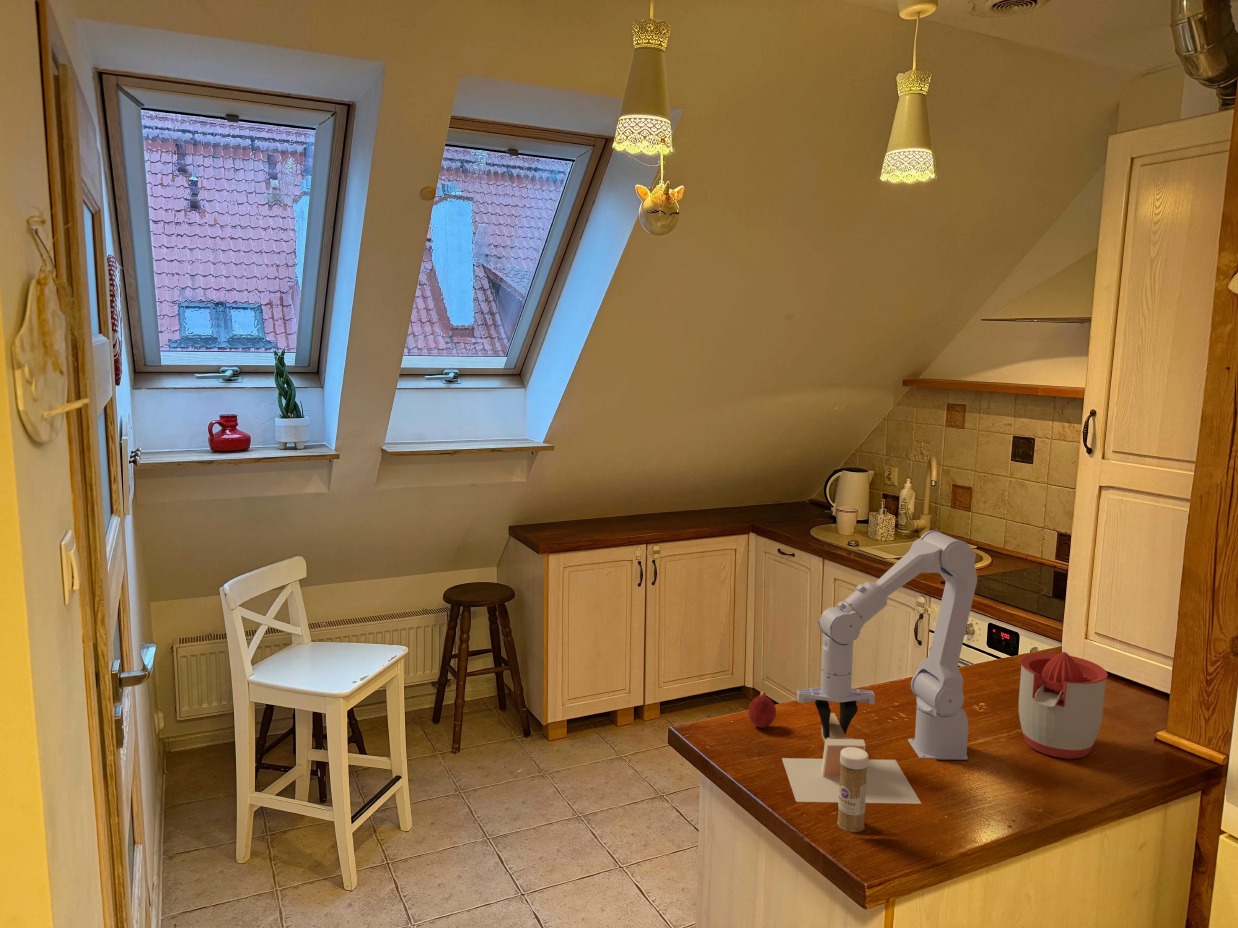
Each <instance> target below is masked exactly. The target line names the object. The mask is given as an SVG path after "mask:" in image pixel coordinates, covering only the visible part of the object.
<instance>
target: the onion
mask: <svg viewBox="0 0 1238 928" xmlns="http://www.w3.org/2000/svg"><path fill="white" fill-rule="evenodd" d="M776 710H777V709H776V706H775V703H774V702H773V700H772V699H770V698H769V697H768V696H767V695H766V692H765V691H760V693H759V695H758V696H756V697H754V698H753V699H752V700H751V702H750V703H749V706H748V711H747V713H748V717H749V719H750V721H751V722H752V723H753V725H755V727H758V728H760V729H764V728H766V727H768V726H770V725H771V724H772V723H773V722H774V721H775V720H776V717H777V711H776Z"/></svg>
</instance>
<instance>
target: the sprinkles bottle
mask: <svg viewBox="0 0 1238 928" xmlns="http://www.w3.org/2000/svg"><path fill="white" fill-rule="evenodd" d="M868 759H869V754H868V752H867V751H866V750H865V751H864V750H862V749H859V748H855V747H847V748H844V749H842V750H841V753H840V763H841V772H840V789H839V801H838V803H837V804H838V805H837V806H838V813H837V822H836V823H837V826H838V827H839V828H840V829H842V830H844V831H846V832H850V833H857V832H861V831H863V830H864V829H865V826H866V825H865V812H866V803H865V801H866V774H867V767H868Z"/></svg>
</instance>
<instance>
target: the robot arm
mask: <svg viewBox="0 0 1238 928" xmlns="http://www.w3.org/2000/svg"><path fill="white" fill-rule="evenodd" d="M976 556H977V553H976V552H975V551H974V550H973V548H972V547H971V546H970V545H969V544H968V543H967V542H966V541H964V540H960V539H956V538H954V537H952V536H949V535H947V534H944V533H943V532H941V531H939V530H933V529H932V530H929V531H926V532H924V534H922V535H921V537H920V538H917V539H915V541H913V543H912V544H911V545H910V548H909V550H908V552H906V553H905V554H904V555H903V556H901V558H900V559H899V560H898V561H897V562H896V563H894V565H892V566H891V567H890V568H889V569H888V570H886V572H885V573H884V574H883V575H882V576H880V578H878V579H877V580H876V581H875V582H868V581H867V582H866V581H865V582H864V583H863V584H861V583H860V584H858V585H857V586H856V587H855V591H853V592H852V593H850V595H849V596H847V597H846V598H845V599H844V600H843V601H841V600H840V601H839V602H838V603H837V605H836V606H833V607H832V606H830V607H828V608H827V609H825V610H824V611H823V612H822V613H821V615H820V618H819V619H818V620H817V627H818V628H819V630H820V631H821V634H822V645H821V646H822V647H821V648H822V649H821V650H822V652H821V672H820V676H821V677H820V686H819V687H811V688H804V689H803V688H802V689H796V700H797V702H798V703H799V704H804V703H806V702H808V703H809V702H813V703H814V705H815V708H816V709H817V713H818V715H819V718H820V722H821V729H822V728H823V736H824V738H825V739H827V738H829V720H830V713H832V710H831V707H830V704H829V703H839V723H840V725H841V727H842V729H843V731H844V733H845V735H846V736H847V731H848V729H849V726H850V724H851V722H852V720H853V719H854V717H855V716H856V714H857V713H858V710H859V708H858V704H857V703H868V704H869V705H875V699H876V698H875V696H876V695H875V693H874V691H873V690H868V689H867V690H866V689H858V688H852V678H853V658H854V657H853V655H854V641H857V639H858V638H859V635H860V633H861V630H862V628H863V627H864V625H865V624H866V623H867V622H869V621H870V620H871V619H872V618H873V617H874V616H875V615H877V614H878V613H879V612H881V611H882V610H884V608H885V607H887V605H888V598H889V596H891V595H892V594H893V593H894V592H896V591H897V590H899V589H901V587H903V586H904V585H906V584H908V582H909V581H910V582H911V580H913V579H914V578H916V577H917V576H918V575H920V574H923V573H925V574H926V573H929V574H931V573H933V574H940V575H941V577H942V578H943V580H944V581H945V584H944V589H943V593H942V597H941V602H940V606H939V611H938V616H937V618H936V625H935V628H934V632H933V633H934V634H933V637H932V641H931V645H930V649H929V654H928V657H927V658H925V659H923V660H921V661H920V662H919V666H918V669H917V671H916V672H915V674H913V676H912V678H911V682H910V689H911V691H912V693H913V694H914V695H915V696H916V698H915V703H916V711H915V712H916V714H915V732H914V738H908V739H907V741H908V742H909V744H910V746H911V747H912V749H913V750H914V752H915V754H916V755H917V756H918V757H919V758H920V759H934V760H956V761H957V760H960V761H961V760H963V761H965V760H966V761H968V759H969V757H968V755H967V754H968V753H967V752H968V742H969V741H968V739H969V720H968V716H967V712H965V709H963V708H962V707H963V704H964V701H965V696H964V691H963V688H964V687H963V686H964V678H963V676H962V674H961V671H960V669H959V666H958V665H959V661H960V657H961V653H962V647H963V643H964V638H965V636H966V631H967V630H966V629H967V626H968V622H969V618H970V614H971V613H970V612H971V611H972V610H971V609H972V605H973V601H974V596H975V591H976V588H977V583H978V575H977V569H976V565H975V562H976Z"/></svg>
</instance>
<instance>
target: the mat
mask: <svg viewBox="0 0 1238 928" xmlns="http://www.w3.org/2000/svg"><path fill="white" fill-rule="evenodd" d="M781 760H782V764H783V767H784V769H785V772H786V775H787V778H788V782H789V784H790V787H791V792H792V794H793V796H794V799H795V802H796V803H837V804H838V801H839V789H840V777H834V776H822V772H821V767H822V760H823V758H803V757H802V758H793V757H792V758H790V757H782V758H781ZM865 804H900V805H901V804H904V805H905V804H906V805H907V804H911V805H912V804H913V805H922V802H921V800H920V799H919V797H918V795H917V794H916V792H915V791H914V789H913V787H912V785H911V783H910V782H909V780H908V779H907V777H906V775H905V774H904V772H903V770H902V769H901V767H900V765H899V763H898V762H897V760H896V759H869V758H868V767H867V774H866V801H865Z"/></svg>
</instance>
